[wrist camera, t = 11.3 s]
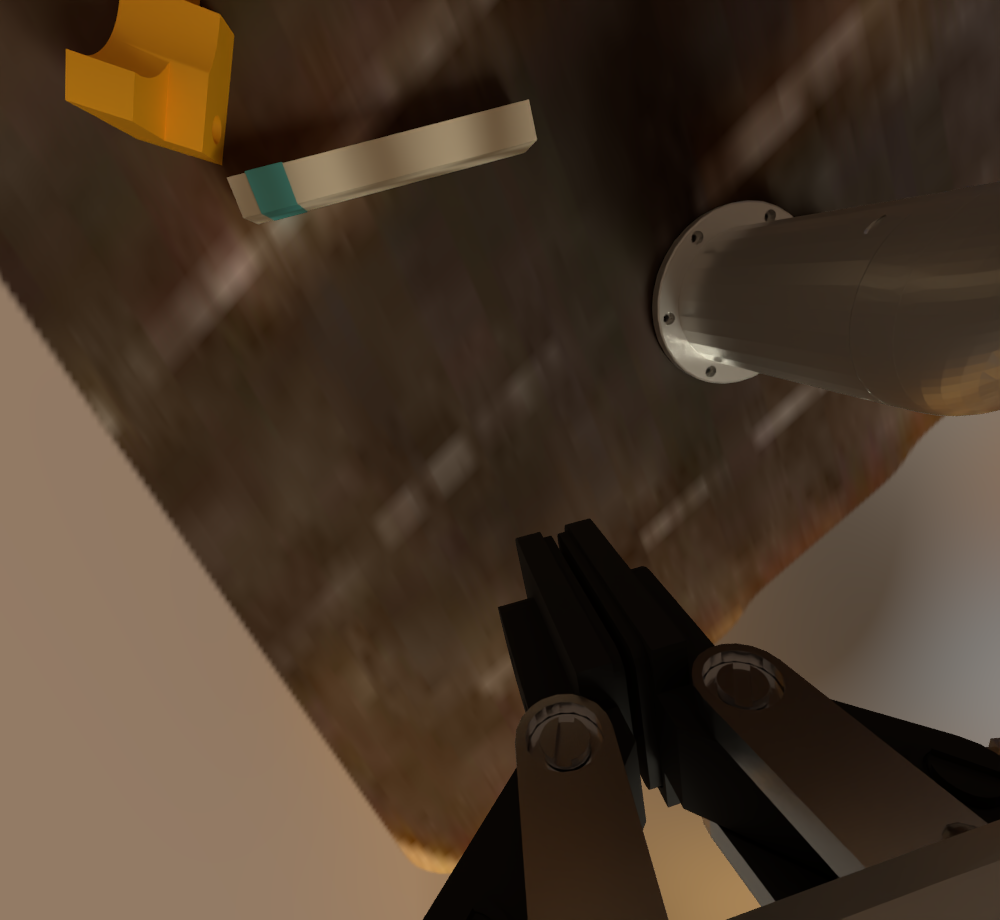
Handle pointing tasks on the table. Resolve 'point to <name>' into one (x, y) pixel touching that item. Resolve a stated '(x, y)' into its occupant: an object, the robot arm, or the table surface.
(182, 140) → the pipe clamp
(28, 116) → the table surface
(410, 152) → the channel
